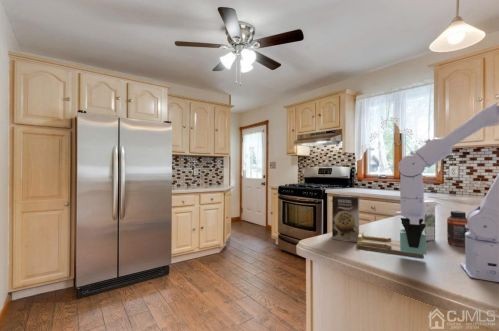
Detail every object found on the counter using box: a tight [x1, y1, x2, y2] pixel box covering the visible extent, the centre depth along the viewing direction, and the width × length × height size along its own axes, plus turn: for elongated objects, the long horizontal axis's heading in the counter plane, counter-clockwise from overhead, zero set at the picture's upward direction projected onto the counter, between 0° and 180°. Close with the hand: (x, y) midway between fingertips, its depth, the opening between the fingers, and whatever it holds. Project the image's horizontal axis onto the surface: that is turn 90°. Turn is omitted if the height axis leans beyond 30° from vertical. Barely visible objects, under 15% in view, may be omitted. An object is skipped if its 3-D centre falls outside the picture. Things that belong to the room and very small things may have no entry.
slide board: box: [357, 230, 425, 259], centre depth 84 cm, size 12×18×4 cm, turn 61°
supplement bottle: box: [446, 210, 469, 248], centre depth 87 cm, size 6×6×11 cm
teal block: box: [399, 228, 427, 256], centre depth 73 cm, size 4×6×6 cm
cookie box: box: [331, 194, 360, 243], centre depth 94 cm, size 9×6×16 cm
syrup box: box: [421, 199, 437, 242], centre depth 93 cm, size 6×6×14 cm
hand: (412, 244), depth 73 cm, fingers closed on teal block, 4 cm apart
